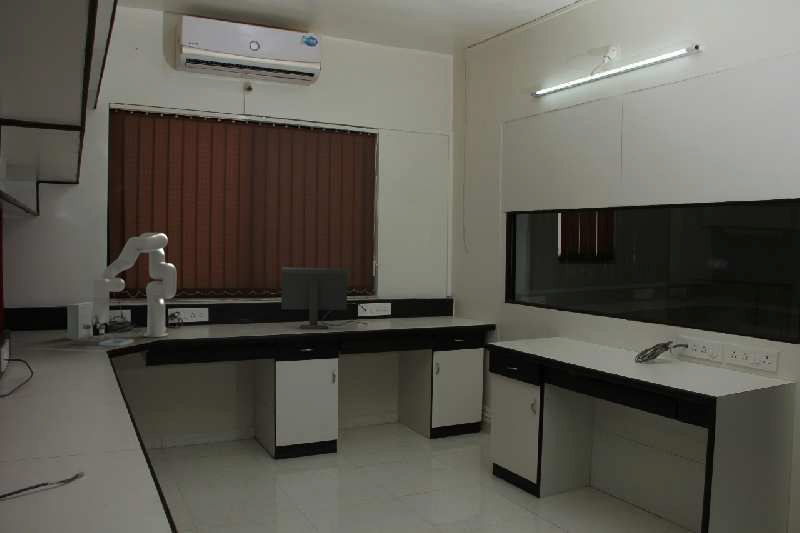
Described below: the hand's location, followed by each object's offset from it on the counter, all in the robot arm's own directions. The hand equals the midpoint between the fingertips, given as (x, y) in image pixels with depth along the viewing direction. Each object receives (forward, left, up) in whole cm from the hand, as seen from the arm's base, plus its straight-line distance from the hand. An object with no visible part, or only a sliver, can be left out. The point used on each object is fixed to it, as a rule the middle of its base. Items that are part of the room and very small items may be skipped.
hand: (100, 334), depth 325 cm
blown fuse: (0, 0, -4) cm, 4 cm away
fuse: (0, -7, -4) cm, 9 cm away
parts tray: (+2, +10, -5) cm, 11 cm away
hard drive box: (-15, -17, -5) cm, 23 cm away
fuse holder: (0, -4, -5) cm, 6 cm away
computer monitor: (-96, +95, -5) cm, 135 cm away
